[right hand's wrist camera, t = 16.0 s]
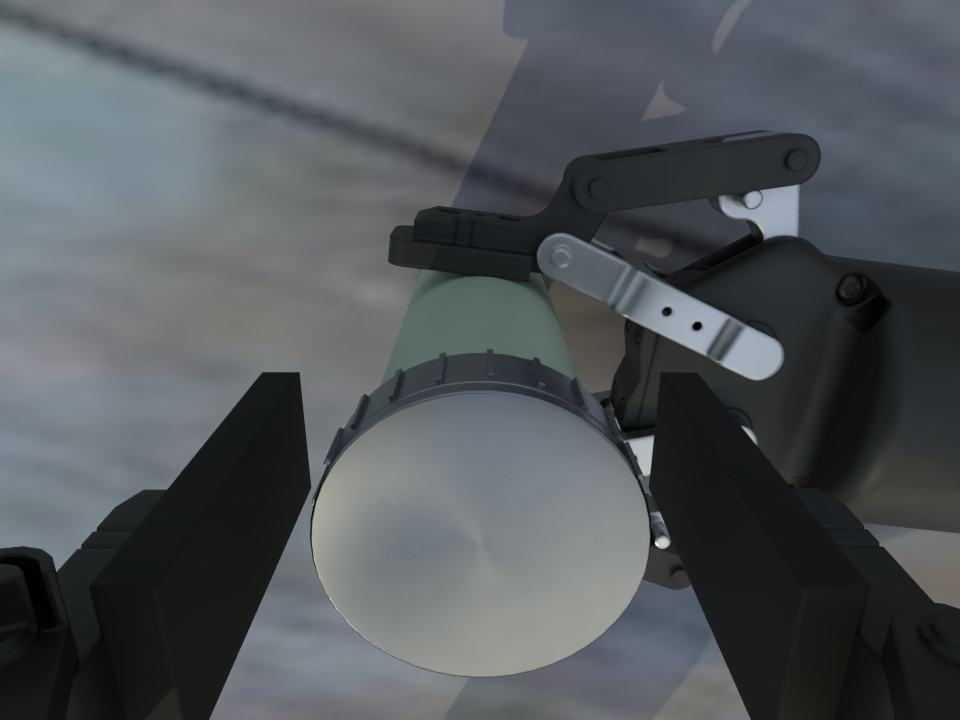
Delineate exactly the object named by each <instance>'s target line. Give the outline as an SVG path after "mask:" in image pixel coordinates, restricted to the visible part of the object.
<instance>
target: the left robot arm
mask: <svg viewBox="0 0 960 720" xmlns="http://www.w3.org/2000/svg"><path fill="white" fill-rule="evenodd" d="M820 159H821V152H820V148H819V146H818V144H817V142H816V141H815V140H814V139H813V138H812V137H810V136H808V135H805V134H795V133H784V132H773V131H762V130H759V131H751V132H744V133H738V134H731V135H724V136H717V137H710V138H704V139H697V140H690V141H683V142H676V143H670V144H663V145H656V146H649V147H642V148H636V149H629V150H622V151H615V152H608V153H601V154H595V155H588V156H582V157H578V158H576V159H574V160H573V161H572V162H570V163H569V165H568V166H567V167H566V169H565V172H564V176H563V181H562V182H561V184H560V186H559V188H558V190H557V192H556V194H555V195H554V197H553V199H552V201H551V202H550V204H549V205H548V207H547V208H546V209H544V210H543V211H542V212H540V213H539V214H536V215H534V216H529V217H521V216H513V215H505V214H497V213H489V212H481V211H472V210H466V209H457V208H450V207H442V206H436V207H432V208H429V209H425V210H421V211H419V212H418V214H417V216H416V218H415V222H414V226H407V225H402V226H396V227H395V229H394V230H393V232H392V233H391V235H390V244H389V257H388V262H389V263H391V264H393V265H397V266H402V267H409V268H417V269H425V270H433V271H441V272H449V273H458V274H466V275H474V276H482V277H494V278H499V279H506V280H514V281H522V282H529V276H530V272H533V273H541V274H545V275H546V276H548V277H549V278H551V279H553V280H556V281H558V282H560V283H562V284H564V285H566V286H568V287H570V288H572V289H574V290H576V291H578V292H581V293H583V294H585V295H587V296H589V297H591V298H593V299H595V300H597V301H599V302H601V303H603V304H605V305H607V306H608V307H610V308H611V309H612V310H614V311H615V312H617V313H618V314H620V315H621V316H623V317H625V318H626V322H625V326H624V331H625V346H626V353H625V356H624V358H623V360H622V362H621V364H620V366H619V367H618V369H617V371H616V373H615V375H614V379H613V383H612V388H611V390H609V391H603V392H598V393H593V394H591V395H592V396H593V397H594V398H595V399H596V400H597V401H598V402H599V403H600V404H601V405H602V407H603V408H605V407H607V406H609V408H610V409H611V411H612V413H613V415H614V418H615V420H616V422H617V425H618V427H619V429H620V430H621V434H622V436H623V439H624V441H623V442H624V443H626V442H629V444H630V446H631V448H632V450H633V453H634V455H635V457H636V460H637V462H638V464H639V466H640V469H641V471H642V473H643V476H648V475H650V471H651V461H652V451H653V441H654V432H655V422H656V412H657V402H658V393H659V383H660V373H661V372H698V374H699V375H700V376H701V377H702V379H703V380H704V381H705V382H706V383H707V385H708V386H709V387H710V388H711V390H712V391H713V392H714V393H715V395H716V396H717V397H718V398H719V400H720V401H721V402H722V403H723V404H724V406H725V407H726V408H727V409H728V411H729V412H730V413H731V414H732V416H733V417H734V418H735V419H736V420H737V422H738V423H739V424H740V425H741V427H742V428H743V429H744V430H745V432H746V433H747V434H748V435H749V436H750V438H751V439H752V440H753V441H754V443H755V444H756V445H757V446H758V448H759V449H760V450H761V451H762V452H763V454H764V455H765V456H766V457H767V459H768V460H769V461H770V462H771V464H772V465H773V466H774V467H775V468H776V470H777V471H778V472H779V473H780V475H781V476H782V477H783V478H784V480H785V481H786V482H787V483H788V484H789V486H790V487H791V488H818V489H820V490H821V491H823V492H825V493H826V494H828V495H830V496H831V497H833V498H834V499H836V500H838V501H839V502H841V503H843V504H844V505H846V507H847V508H848V509H849V510H850V511H851V512H852V513H853V514H854V515H855V516H856V518H857V519H858V520H859V521H860V522H861V523H870V524H879V525H889V526H898V527H907V528H915V529H925V530H934V531H943V532H952V533H960V272H953V271H945V270H937V269H930V268H922V267H914V266H906V265H898V264H890V263H882V262H874V261H866V260H858V259H850V258H843V257H835V256H829V255H825V254H823V253H822V252H821V251H820V250H818V249H817V248H816V247H815V246H814V245H813V244H811V243H810V242H808V241H807V240H805V239H802V238H799V198H800V184H802V183H804V182H806V181H807V180H808V179H810V178H811V177H812V176H813V175H814V173H815V172H816V170H817V169H818V166H819V164H820ZM703 198H708V199H709V202H710V204H711V206H712V207H713V208H714V209H715V210H716V211H718V212H720V213H722V214H724V215H726V216H729V217H731V218H734V219H745V220H746V221H747V223H748V224H749V226H750V230H751V234H749V235H747V236H745V237H743V238H741V239H739V240H737V241H735V242H733V243H731V244H729V245H727V246H725V247H723V248H721V249H719V250H717V251H715V252H714V253H712V254H710V255H708V256H706V257H704V258H702V259H700V260H698V261H696V262H694V263H692V264H690V265H688V266H686V267H684V268H682V269H680V270H678V271H676V272H674V273H670V272H668V271H666V270H664V269H662V268H660V267H658V266H656V265H654V264H652V263H650V262H648V261H646V260H644V259H642V258H640V257H638V256H636V255H634V254H632V253H630V252H628V251H626V250H624V249H622V248H619V247H617V246H613V245H610V244H608V243H606V242H604V241H602V240H600V239H598V238H596V237H594V235H595V233H596V232H597V230H598V228H599V226H600V225H601V223H602V221H603V219H604V218H605V216H606V214H607V212H612V211H619V210H626V209H633V208H640V207H647V206H654V205H661V204H668V203H675V202H682V201H689V200H696V199H703ZM645 495H646V497H647V502H648V506H649V511H650V515H651V530H652V538H651V549H650V556H649V560H648V564H647V568H646V572H645V574H644V577H643V579H644V580H647V581H649V582H652V583H655V584H658V585H661V586H664V587H667V588H670V589H674V590H679V589H684V588H687V587H689V586H690V585H691V582H690V580H689V578H688V576H687V573H686V571H685V569H684V567H683V564H682V562H681V560H680V557H679V555H678V553H677V551H676V548H675V546H674V544H673V542H672V539H671V537H670V535H669V532H668V530H667V528H666V526H665V523H664V521H663V519H662V517H661V514H660V512H659V510H658V507H657V505H656V503H655V501H654V498H653V496H651V495H649V494H645Z"/></svg>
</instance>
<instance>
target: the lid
mask: <svg viewBox="0 0 960 720" xmlns="http://www.w3.org/2000/svg"><path fill="white" fill-rule="evenodd" d="M623 441H624V439H623V436H622V434H621V432H620V429H619V427H618V425H617V422H616V420H615V418H614V415H613V413H612V411H611V409H610V408H609V406H607V407H605V408H603V407H602V405H601V404H600V403H599V402H598V401H597V400H596V399H595V398H594V397H593V396H592V395H591V394H590V393H589V392H588V391H587V390H586V389H585V388H583V386H582V383H581V381H580V379H578V378H577V377H575V378H574V379H573V380H572V379H571V378H569V377H568V376H566V375H564V374H562V373H560V372H558V371H556V370H554V369H553V368H551V367H548V366H545V365H543V364H541V362H540V359H539V358H536V357H533V360H529V359H525V358H520V357H516V356H512V355H505V354H496V353H493V349H487V352H486V353H465V354H457V355H450V356H446V353H445V352H444V353H440V354H439V358H437V359H434V360H430V361H426V362H424V363H421V364H419V365H416V366H414V367H412V368H409V369H407V370H405V371H403V370H402V368H400V369H398V370H396V372H395V375H394V377H393V378H391V379H389V380H388V381H387V382H386V383H384V384H383V385H382V386H380V387H379V388H378V389H376V390H375V391H374V392H373V393H372V394H371V395H370V396H369V397H368V396H367V395H366V394H364V395H363V396H362V397H361V399H360V401H359V404H358V406H357V409H356V411H355V413H354V414H353V415H352V417H351V418H350V420H349V421H348V423H347V425H346V427H345V429H342V428H339V429H338V431H337V434H336V436H335V438H334V441H333V443H332V445H331V447H330V450H329V452H328V454H327V457H326V459H325V461H324V464H325V465H327V466H326V469H325V471H324V474H323V476H322V478H321V481H320V483H319V485H318V488H317V490H316V492H315V495H314V497H313V499H312V505H313V511H312V516H311V528H310V541H311V549H312V557H313V561H314V564H315V568H316V571H317V575H318V577H319V580H320V582H321V584H322V586H323V589H324V591H325V593H326V595H327V596H328V598H329V599H330V601H331V603H332V604H333V606H334V607H335V609H336V610H337V611H338V613H339V614H340V615H341V616H342V617H343V619H344V620H345V621H346V622H347V623H348V624H349V625H350V626H351V627H352V628H353V629H354V630H355V631H356V632H357V633H358V634H359V635H361V636H362V637H363V638H364V639H366V640H367V641H368V642H370V643H371V644H373V645H374V646H375V647H377V648H378V649H380V650H382V651H384V652H385V653H387V654H389V655H391V656H392V657H394V658H397V659H399V660H401V661H404V662H406V663H408V664H411V665H413V666H416V667H419V668H423V669H426V670H429V671H433V672H438V673H443V674H448V675H454V676H465V677H498V676H507V675H515V674H519V673H524V672H529V671H533V670H536V669H539V668H542V667H546V666H549V665H552V664H554V663H556V662H558V661H561V660H563V659H565V658H567V657H570V656H571V655H573V654H575V653H577V652H578V651H580V650H582V649H583V648H585V647H587V646H588V645H589V644H591V643H592V642H593V641H595V640H596V639H597V638H599V637H600V636H601V635H603V634H604V633H605V632H606V631H607V630H608V629H609V628H610V627H611V626H612V625H613V624H614V623H615V622H616V621H617V620H618V619H619V617H620V616H621V615H622V614H623V612H624V611H625V610H626V609H627V607H628V606H629V604H630V603H631V601H632V599H633V598H634V596H635V594H636V593H637V591H638V589H639V586H640V584H641V582H642V579H643V577H644V574H645V572H646V568H647V564H648V560H649V556H650V549H651V538H652V530H651V515H650V511H649V506H648V502H647V497H646V495H645V492H644V490H643V487H642V485H641V482H640V480H643V479H644V476H643V473H642V471H641V469H640V466H639V464H638V462H637V460H636V457H635V455H634V453H633V450H632V448H631V446H630V444H629V442H626V443H624V442H623Z"/></svg>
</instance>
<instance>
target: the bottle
mask: <svg viewBox="0 0 960 720" xmlns="http://www.w3.org/2000/svg"><path fill="white" fill-rule="evenodd" d="M487 349H493V353H496V354H505V355H512V356H516V357H520V358H525V359H529V360H533V357H536V358H539V359H540V362H541V364H543V365H545V366H548V367H551V368H553V369H554V370H556V371H558V372H560V373H562V374H564V375H566V376H568V377H569V378H571V379H572V380H573V379H574V378H575V377H577V378H578V376H577V373H576V370H575V367H574V364H573V362H572V359H571V356H570V353H569V350H568V348H567V345H566V342H565V339H564V336H563V334H562V331H561V328H560V325H559V322H558V320H557V317H556V314H555V311H554V309H553V306H552V303H551V300H550V297H549V295H548V292H547V289H546V286H545V283H544V281H543V278H542V275H541V273H533V272H530V276H529V282H522V281H514V280H506V279H499V278H494V277H482V276H474V275H466V274H458V273H449V272H441V271H433V270H425V269H422V271H421V273H420V276H419V279H418V282H417V285H416V287H415V290H414V293H413V296H412V299H411V302H410V304H409V307H408V310H407V313H406V316H405V318H404V321H403V324H402V327H401V330H400V332H399V335H398V338H397V341H396V344H395V346H394V349H393V352H392V355H391V358H390V360H389V363H388V366H387V369H386V372H385V374H384V377H383V380H382V383H381V386H382V385H383V384H384V383H386V382H387V381H388V380H389V379H391V378H393V377H394V375H395V372H396V370H398V369H400V368H402V370H403V371H405V370H407V369H409V368H412V367H414V366H416V365H419V364H421V363H424V362H426V361H430V360H434V359H437V358H439V354H440V353H444V352H445V353H446V356H450V355H457V354H465V353H486V352H487ZM578 379H579V378H578Z"/></svg>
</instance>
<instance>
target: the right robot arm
mask: <svg viewBox="0 0 960 720" xmlns="http://www.w3.org/2000/svg"><path fill="white" fill-rule="evenodd" d="M310 489H311V480H310V471H309V461H308V451H307V441H306V432H305V422H304V412H303V402H302V393H301V383H300V373H299V372H262V374H261V375H260V376H259V377H258V379H257V380H256V381H255V382H254V383H253V385H252V386H251V387H250V388H249V390H248V391H247V392H246V393H245V395H244V396H243V397H242V398H241V400H240V401H239V402H238V403H237V404H236V406H235V407H234V408H233V409H232V411H231V412H230V413H229V414H228V416H227V417H226V418H225V419H224V420H223V422H222V423H221V424H220V425H219V427H218V428H217V429H216V430H215V432H214V433H213V434H212V435H211V436H210V438H209V439H208V440H207V441H206V443H205V444H204V445H203V446H202V448H201V449H200V450H199V451H198V452H197V454H196V455H195V456H194V457H193V459H192V460H191V461H190V462H189V464H188V465H187V466H186V467H185V468H184V470H183V471H182V472H181V473H180V475H179V476H178V477H177V478H176V480H175V481H174V482H173V483H172V484H171V486H170V487H169V488H168V489H167V490H143V491H141V492H139V493H138V494H136V495H134V496H133V497H131V498H130V499H128V500H126V501H125V502H123V503H121V504H120V505H118V506H117V507H115V508H114V509H113V510H112V512H111V513H110V514H109V515H108V516H107V517H106V518H105V519H104V520H103V522H102V523H101V524H100V525H99V526H98V527H97V531H96V532H93V533H92V534H91V535H90V536H89V537H88V538H87V539H86V540H85V541H84V543H83V544H82V547H81V549H77V550H76V551H75V552H74V554H73V555H72V556H71V557H70V558H69V559H68V560H67V561H66V562H65V564H64V565H63V566H62V567H61V568H60V569H59V570H58V571H57V572H56V569H55V565H54V562H53V558H52V556H50V555H49V554H48V553H46V552H45V551H44V550H42V549H38V548H31V547H24V546H22V547H12V548H2V549H0V720H209V719H210V716H211V714H212V712H213V710H214V707H215V705H216V703H217V700H218V698H219V696H220V694H221V691H222V689H223V687H224V685H225V682H226V680H227V678H228V675H229V673H230V671H231V669H232V666H233V664H234V662H235V660H236V657H237V655H238V653H239V651H240V648H241V646H242V644H243V641H244V639H245V637H246V635H247V632H248V630H249V628H250V626H251V623H252V621H253V619H254V616H255V614H256V612H257V610H258V607H259V605H260V603H261V601H262V598H263V596H264V594H265V591H266V589H267V587H268V585H269V582H270V580H271V578H272V576H273V573H274V571H275V569H276V567H277V564H278V562H279V560H280V557H281V555H282V553H283V551H284V548H285V546H286V544H287V542H288V539H289V537H290V535H291V532H292V530H293V528H294V526H295V523H296V521H297V519H298V517H299V514H300V512H301V510H302V507H303V505H304V503H305V501H306V498H307V496H308V494H309V492H310ZM649 489H650V492H651V494H652V496H653V498H654V501H655V503H656V505H657V507H658V510H659V512H660V514H661V517H662V519H663V521H664V523H665V526H666V528H667V530H668V532H669V535H670V537H671V539H672V542H673V544H674V546H675V548H676V551H677V553H678V555H679V557H680V560H681V562H682V564H683V567H684V569H685V571H686V573H687V576H688V578H689V580H690V582H691V585H692V587H693V589H694V591H695V594H696V596H697V598H698V601H699V603H700V605H701V607H702V610H703V612H704V614H705V616H706V619H707V621H708V623H709V626H710V628H711V630H712V632H713V635H714V637H715V639H716V641H717V644H718V646H719V648H720V651H721V653H722V655H723V657H724V660H725V662H726V664H727V666H728V669H729V671H730V673H731V675H732V678H733V680H734V682H735V685H736V687H737V689H738V691H739V694H740V696H741V698H742V700H743V703H744V705H745V707H746V710H747V712H748V714H749V716H750V719H751V720H960V609H958V608H955V607H952V606H949V605H946V604H940V603H934V602H933V601H932V600H931V599H930V598H929V597H928V595H927V594H926V593H925V592H924V591H923V590H922V589H921V588H920V587H919V586H918V584H917V583H916V582H915V581H914V580H913V579H912V578H911V577H910V576H909V575H908V573H907V572H906V571H905V570H904V569H903V568H902V567H901V566H900V565H899V564H898V563H897V561H896V560H895V559H894V558H893V557H892V556H891V555H890V554H889V553H888V552H887V550H886V549H885V548H884V547H880V546H879V542H878V541H877V539H876V538H875V537H874V536H873V535H872V534H871V533H870V532H869V531H868V530H867V529H864V525H863V524H862V523H861V522H860V521H859V520H858V519H857V518H856V516H855V515H854V514H853V513H852V512H851V511H850V510H849V509H848V508H847V507H846V505H844V504H843V503H841V502H839V501H838V500H836V499H834V498H833V497H831V496H830V495H828V494H826V493H825V492H823V491H821V490H820V489H818V488H791V487H790V486H789V484H788V483H787V482H786V481H785V480H784V478H783V477H782V476H781V475H780V473H779V472H778V471H777V470H776V468H775V467H774V466H773V465H772V464H771V462H770V461H769V460H768V459H767V457H766V456H765V455H764V454H763V452H762V451H761V450H760V449H759V448H758V446H757V445H756V444H755V443H754V441H753V440H752V439H751V438H750V436H749V435H748V434H747V433H746V432H745V430H744V429H743V428H742V427H741V425H740V424H739V423H738V422H737V420H736V419H735V418H734V417H733V416H732V414H731V413H730V412H729V411H728V409H727V408H726V407H725V406H724V404H723V403H722V402H721V401H720V400H719V398H718V397H717V396H716V395H715V393H714V392H713V391H712V390H711V388H710V387H709V386H708V385H707V383H706V382H705V381H704V380H703V379H702V377H701V376H700V375H699V374H698V372H661V373H660V383H659V393H658V402H657V412H656V422H655V432H654V441H653V451H652V461H651V471H650V480H649Z"/></svg>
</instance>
